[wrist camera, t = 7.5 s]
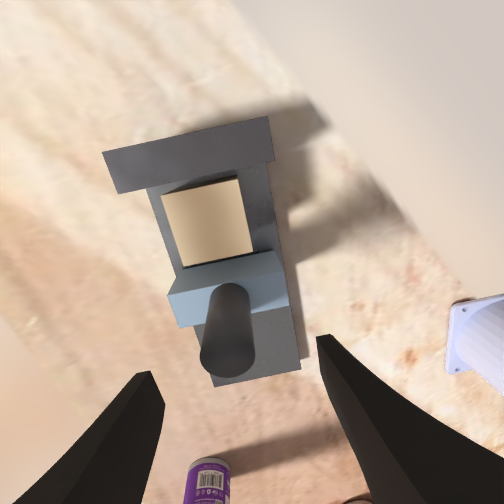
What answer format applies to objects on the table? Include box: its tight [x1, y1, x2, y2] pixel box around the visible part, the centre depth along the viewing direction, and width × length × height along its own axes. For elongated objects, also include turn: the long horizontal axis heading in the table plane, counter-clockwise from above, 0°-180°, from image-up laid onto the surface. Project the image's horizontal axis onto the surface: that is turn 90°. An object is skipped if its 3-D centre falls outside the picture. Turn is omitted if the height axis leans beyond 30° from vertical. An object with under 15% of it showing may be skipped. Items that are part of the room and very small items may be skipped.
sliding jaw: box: [167, 250, 289, 378], centre depth 15 cm, size 7×2×8 cm, turn 101°
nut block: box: [161, 175, 253, 266], centre depth 15 cm, size 4×4×4 cm
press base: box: [102, 116, 301, 387], centre depth 18 cm, size 8×20×5 cm, turn 11°
